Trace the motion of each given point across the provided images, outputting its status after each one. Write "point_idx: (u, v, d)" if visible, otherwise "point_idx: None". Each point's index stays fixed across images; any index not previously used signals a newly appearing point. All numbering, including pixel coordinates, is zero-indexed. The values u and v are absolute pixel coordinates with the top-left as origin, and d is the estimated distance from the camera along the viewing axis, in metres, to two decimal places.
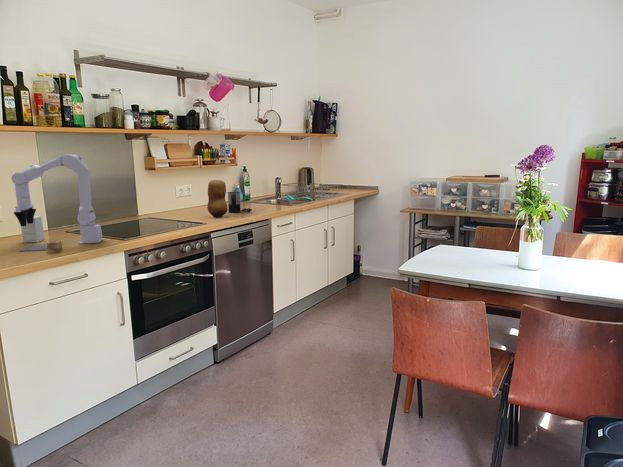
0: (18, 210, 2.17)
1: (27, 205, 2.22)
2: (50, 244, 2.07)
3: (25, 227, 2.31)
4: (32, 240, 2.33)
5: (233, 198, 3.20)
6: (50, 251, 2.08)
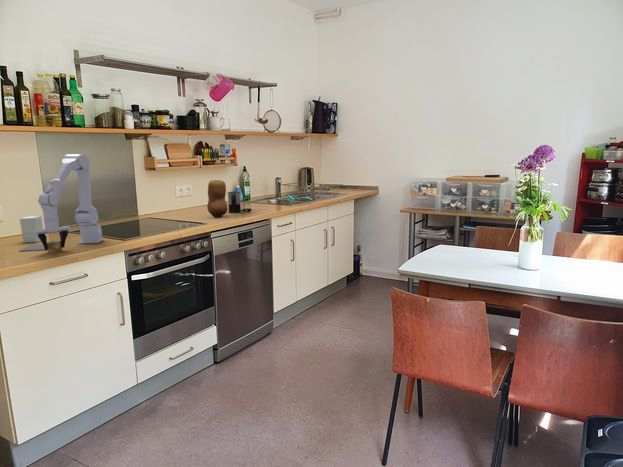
0: (34, 233, 2.03)
1: (49, 228, 2.06)
2: (50, 244, 2.07)
3: (25, 227, 2.31)
4: (32, 240, 2.33)
5: (233, 198, 3.20)
6: (50, 251, 2.08)
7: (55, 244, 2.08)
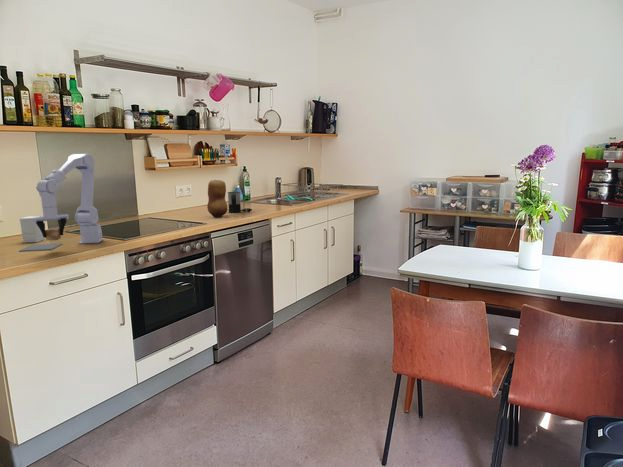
0: (33, 220, 2.02)
1: (47, 216, 2.05)
2: (48, 231, 2.06)
3: (25, 227, 2.31)
4: (32, 240, 2.33)
5: (233, 198, 3.20)
6: (48, 238, 2.07)
7: (54, 231, 2.07)
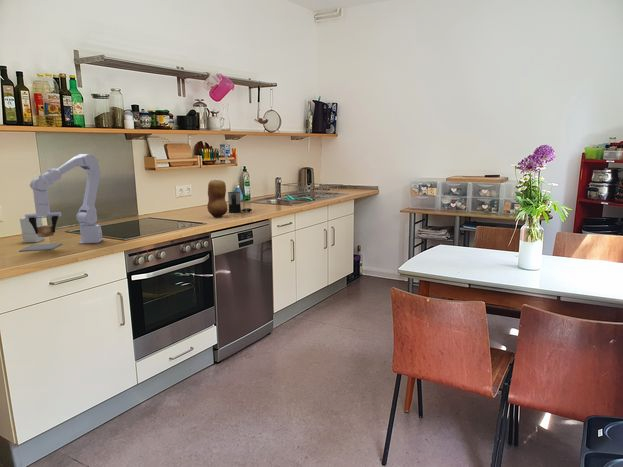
0: (25, 217, 2.09)
1: (37, 213, 2.09)
2: (39, 228, 2.11)
3: (25, 227, 2.31)
4: (32, 240, 2.33)
5: (233, 198, 3.20)
6: (40, 235, 2.12)
7: (43, 229, 2.11)
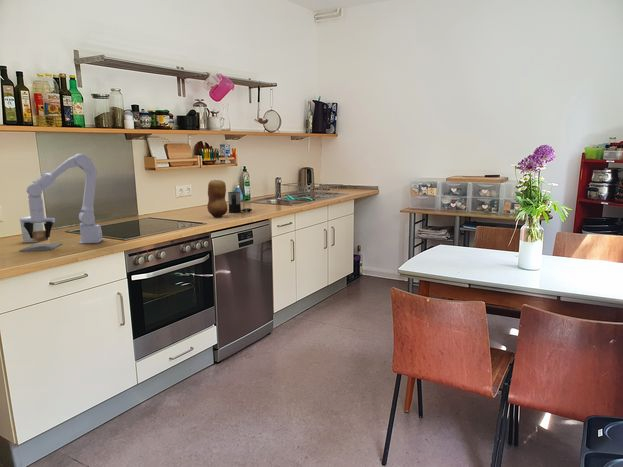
0: None
1: (31, 218, 2.14)
2: (33, 233, 2.16)
3: None
4: (32, 240, 2.33)
5: (233, 198, 3.20)
6: (34, 239, 2.17)
7: (36, 234, 2.16)
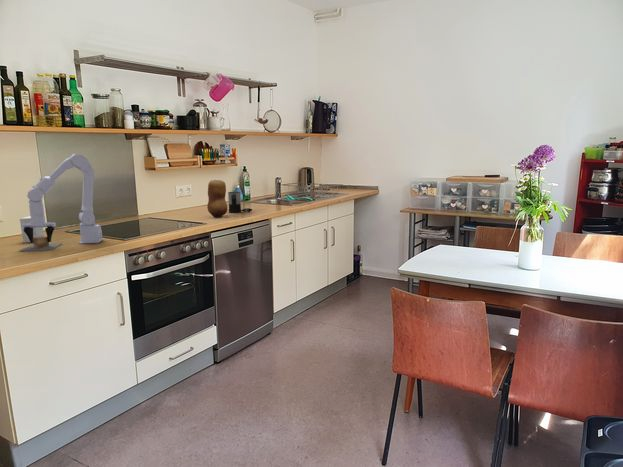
0: None
1: (32, 223, 2.15)
2: (34, 239, 2.17)
3: None
4: None
5: (233, 198, 3.20)
6: (35, 245, 2.18)
7: (37, 240, 2.16)
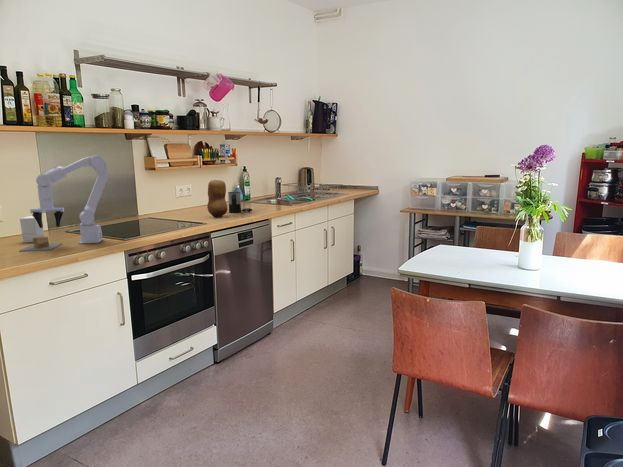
0: None
1: (41, 208, 2.17)
2: (34, 239, 2.17)
3: (25, 227, 2.31)
4: (32, 240, 2.33)
5: (233, 198, 3.20)
6: (35, 245, 2.18)
7: (37, 240, 2.16)
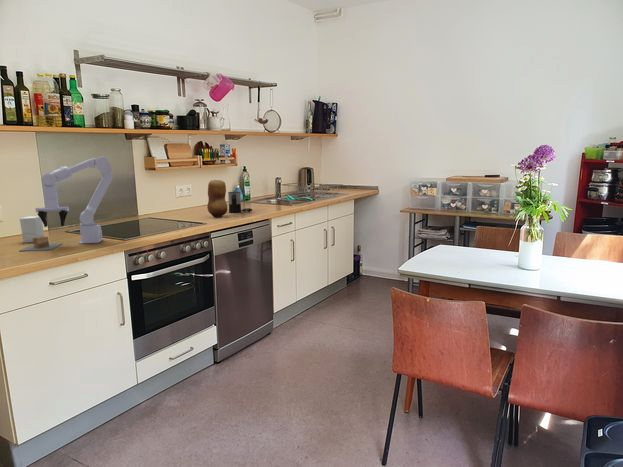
0: None
1: (46, 207, 2.19)
2: (34, 239, 2.17)
3: (25, 227, 2.31)
4: (32, 240, 2.33)
5: (233, 198, 3.20)
6: (35, 245, 2.18)
7: (37, 240, 2.16)
